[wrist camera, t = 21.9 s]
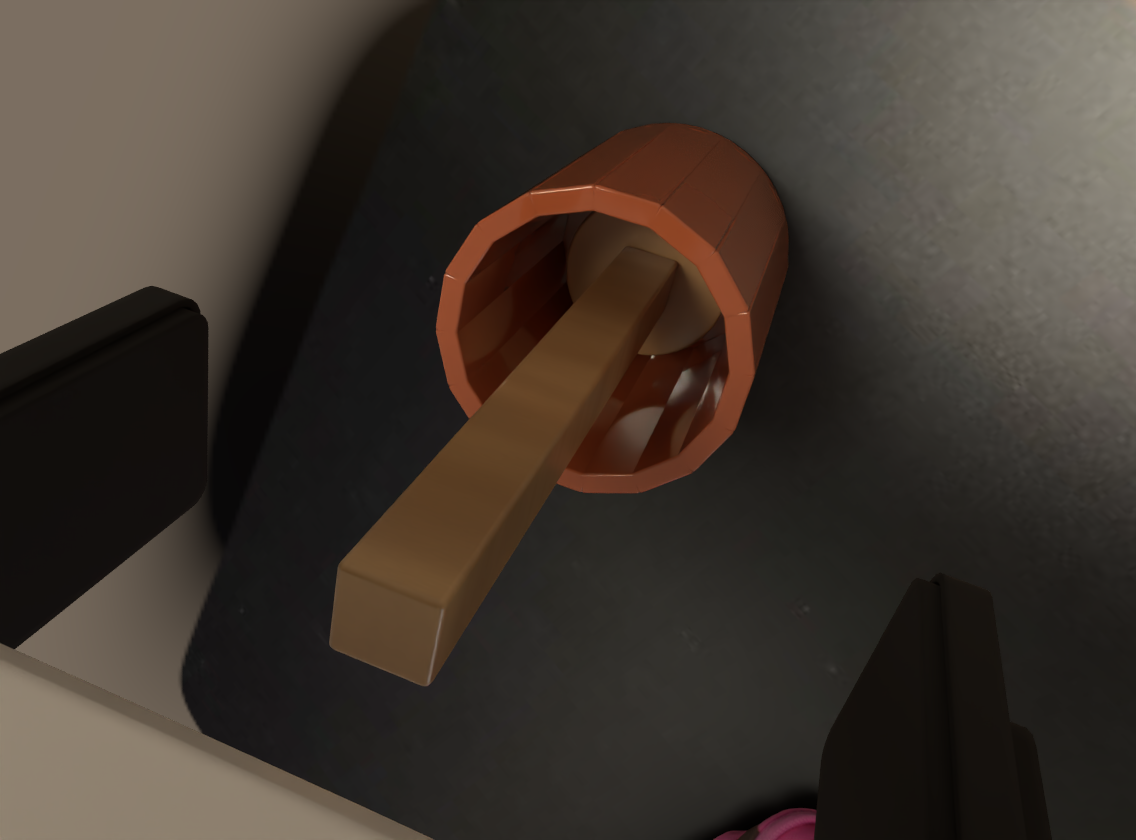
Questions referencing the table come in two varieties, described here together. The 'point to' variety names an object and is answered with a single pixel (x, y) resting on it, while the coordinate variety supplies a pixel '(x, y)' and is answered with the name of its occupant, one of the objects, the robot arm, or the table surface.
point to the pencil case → (779, 827)
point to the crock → (541, 297)
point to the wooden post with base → (513, 452)
